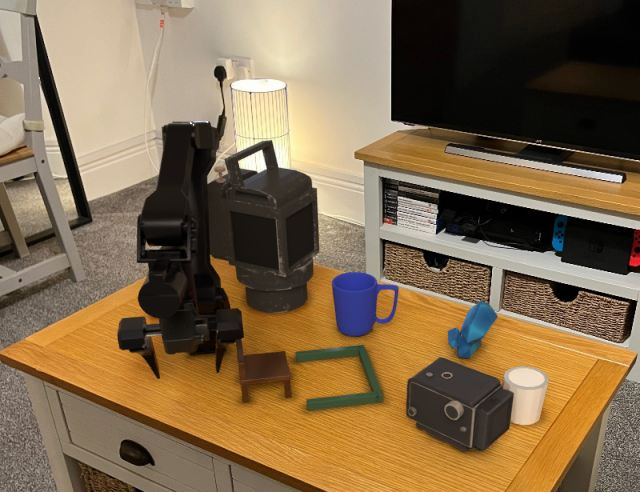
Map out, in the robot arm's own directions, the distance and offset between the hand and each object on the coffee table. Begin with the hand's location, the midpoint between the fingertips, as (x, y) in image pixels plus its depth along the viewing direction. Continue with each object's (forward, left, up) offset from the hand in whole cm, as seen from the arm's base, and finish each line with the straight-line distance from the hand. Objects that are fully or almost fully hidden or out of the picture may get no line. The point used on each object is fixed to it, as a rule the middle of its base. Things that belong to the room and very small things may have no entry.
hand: (188, 374), depth 129 cm
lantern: (+16, +33, -4) cm, 37 cm away
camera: (+39, -20, -4) cm, 44 cm away
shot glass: (+51, -16, -4) cm, 54 cm away
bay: (+24, 0, -4) cm, 24 cm away
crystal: (+49, +5, -4) cm, 49 cm away
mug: (+32, +16, -4) cm, 36 cm away
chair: (+12, 0, -4) cm, 13 cm away
